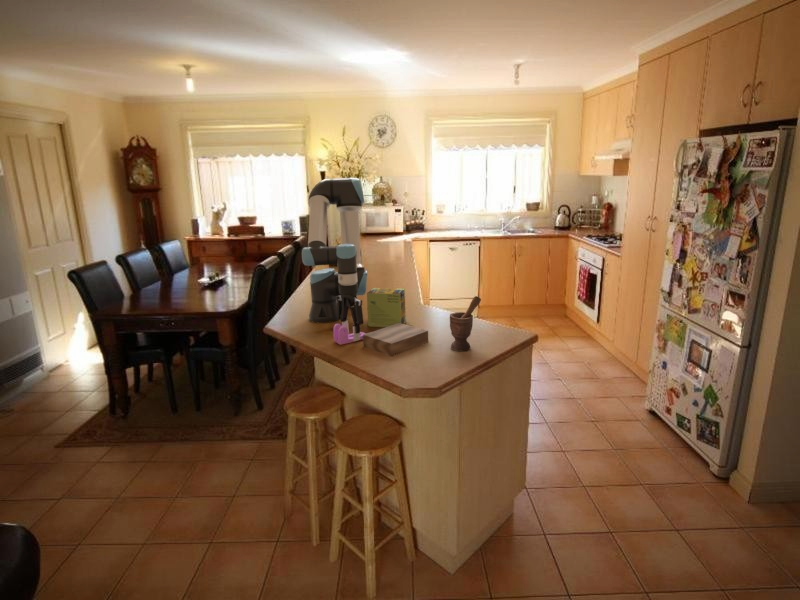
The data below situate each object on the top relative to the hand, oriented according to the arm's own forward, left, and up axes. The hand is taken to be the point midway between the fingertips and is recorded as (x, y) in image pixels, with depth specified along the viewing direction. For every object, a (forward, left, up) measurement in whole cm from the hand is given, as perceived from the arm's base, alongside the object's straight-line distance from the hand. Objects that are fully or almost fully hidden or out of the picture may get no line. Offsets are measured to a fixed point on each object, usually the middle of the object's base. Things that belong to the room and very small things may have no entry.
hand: (351, 338), depth 194 cm
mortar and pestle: (+40, +23, -1) cm, 46 cm away
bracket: (0, 0, -1) cm, 1 cm away
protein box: (-5, +25, -1) cm, 25 cm away
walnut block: (+18, +8, -1) cm, 20 cm away
